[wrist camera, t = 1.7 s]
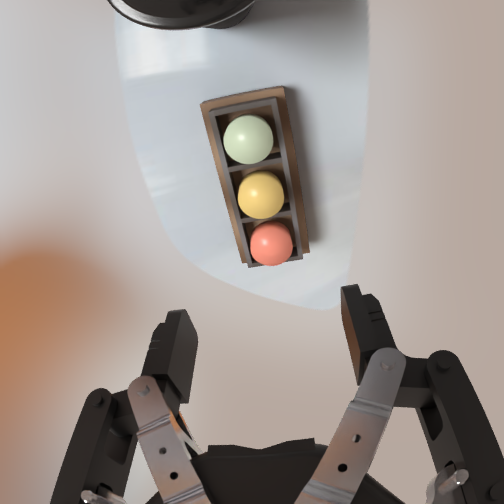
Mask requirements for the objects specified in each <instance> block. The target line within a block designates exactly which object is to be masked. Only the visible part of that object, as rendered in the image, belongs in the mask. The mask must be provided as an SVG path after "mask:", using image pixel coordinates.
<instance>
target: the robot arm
mask: <svg viewBox="0 0 504 504" xmlns="http://www.w3.org/2000/svg"><path fill="white" fill-rule="evenodd" d="M341 314H342V321H343V326H344V330H345V334H346V338H347V342H348V346H349V351H350V355H351V359H352V363H353V368H354V372H355V376H356V381H357V385H358V386H359V385H360V386H359V388H358V391H357V393H356V395H355V398H354V400H353V401H351V402H350V403H349V405H348V407H347V409H346V411H345V413H344V416H343V418H342V420H341V422H340V424H339V426H338V428H337V430H336V432H335V434H334V436H333V438H332V440H331V442H330V444H329V446H326V445H321V444H315V441H314V438H309V439H302V440H293V441H286V442H283V443H280V444H277V445H274V446H271V447H267V448H264V449H252V448H247V447H241V446H237V445H209V446H208V452H205V453H203V452H202V451H201V450H200V448H199V447H198V445H197V444H196V442H195V440H194V438H193V436H192V434H191V432H190V431H189V429H188V427H187V425H186V423H185V421H184V419H183V417H182V415H181V413H180V411H179V407H180V404H182V403H189V397H190V390H191V384H192V377H193V371H194V365H195V358H196V353H197V347H198V336H197V332H196V330H195V328H194V326H193V324H192V322H191V320H190V317H189V315H188V313H187V311H186V310H185V309H182V310H173V311H169V312H168V314H167V317H166V320H165V323H160V324H159V325H158V326H157V328H156V329H155V330H154V332H153V335H152V338H151V343H150V345H149V350H148V352H147V356H146V359H145V362H144V366H143V370H142V373H141V376H140V377H138V378H136V379H135V380H133V381H132V382H131V384H130V385H129V387H128V389H127V390H124V391H120V392H117V393H114V394H111V393H110V392H109V391H108V390H107V389H104V388H99V389H96V390H94V391H92V392H91V393H90V394H89V395H88V397H87V399H86V401H85V404H84V406H83V409H82V411H81V414H80V416H79V419H78V422H77V424H76V427H75V430H74V432H73V435H72V438H71V441H70V443H69V446H68V449H67V452H66V455H65V458H64V461H63V464H62V467H61V470H60V473H59V476H58V479H57V482H56V485H55V488H54V492H53V495H52V499H51V502H50V504H126V501H125V500H124V499H123V496H124V492H125V487H126V484H127V480H128V476H129V472H130V468H131V464H132V460H133V456H134V453H135V449H136V445H137V442H138V441H139V443H140V446H141V449H142V451H143V454H144V456H145V459H146V461H147V464H148V467H149V469H150V471H151V474H152V476H153V479H154V481H155V483H156V485H157V488H158V490H159V491H158V492H157V493H156V494H155V495H154V496H153V497H152V498H151V499H150V500H149V501H148V502H147V503H146V504H405V503H404V502H402V501H401V500H400V499H399V498H397V497H396V496H395V495H394V494H392V493H391V492H390V491H388V490H387V489H386V488H385V487H383V486H382V485H381V484H380V483H379V482H377V481H376V480H375V479H374V478H372V477H371V476H370V475H369V474H368V473H367V472H368V469H369V467H370V465H371V463H372V461H373V458H374V456H375V454H376V451H377V449H378V446H379V444H380V441H381V439H382V436H383V434H384V431H385V428H386V426H387V423H388V420H389V418H390V415H391V412H392V409H393V407H411V408H415V409H416V412H417V414H418V417H419V420H420V423H421V426H422V429H423V431H424V434H425V437H426V440H427V443H428V446H429V449H430V452H431V455H432V459H433V462H434V465H435V468H436V471H437V475H436V476H435V477H434V478H433V479H432V480H431V481H430V482H429V484H428V486H427V490H426V496H427V500H426V504H504V458H503V455H502V452H501V450H500V447H499V445H498V442H497V440H496V437H495V435H494V432H493V430H492V428H491V425H490V423H489V421H488V419H487V416H486V414H485V412H484V409H483V407H482V405H481V403H480V401H479V399H478V397H477V394H476V392H475V390H474V388H473V386H472V384H471V382H470V380H469V378H468V376H467V374H466V372H465V370H464V368H463V366H462V364H461V362H460V360H459V359H458V357H457V356H456V355H455V354H454V353H452V352H450V351H446V350H440V351H436V352H434V353H432V354H431V355H430V357H429V358H428V359H424V358H411V357H408V356H405V355H404V354H403V353H402V352H400V351H399V350H398V349H397V347H396V345H395V342H394V339H393V337H392V334H391V331H390V329H389V326H388V323H387V321H386V319H385V315H384V313H383V311H382V308H381V305H380V303H379V301H378V300H377V299H376V298H375V297H374V296H373V295H372V294H367V295H362V294H361V291H360V289H359V286H358V284H354V285H348V286H342V287H341Z"/></svg>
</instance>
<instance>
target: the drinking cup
mask: <svg viewBox="0 0 504 504" xmlns="http://www.w3.org/2000/svg"><path fill="white" fill-rule="evenodd" d="M255 1H256V0H108V2H109V3H110V4H111V6H112V7H113V8H114V9H115V10H116V11H117V12H118V13H120V14H121V15H122V16H124V17H125V18H127V19H129V20H130V21H133V22H135V23H137V24H140V25H143V26H146V27H150V28H154V29H161V30H190V29H196V28H201V27H205V28H214V29H224V28H229V27H232V26H234V25H236V24H238V23H239V22H241V21H242V20H243V19H244V18H245V17H246V16H247V14H248V13H249V11H250V9H251V7H252V5H253V3H254V2H255Z"/></svg>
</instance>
